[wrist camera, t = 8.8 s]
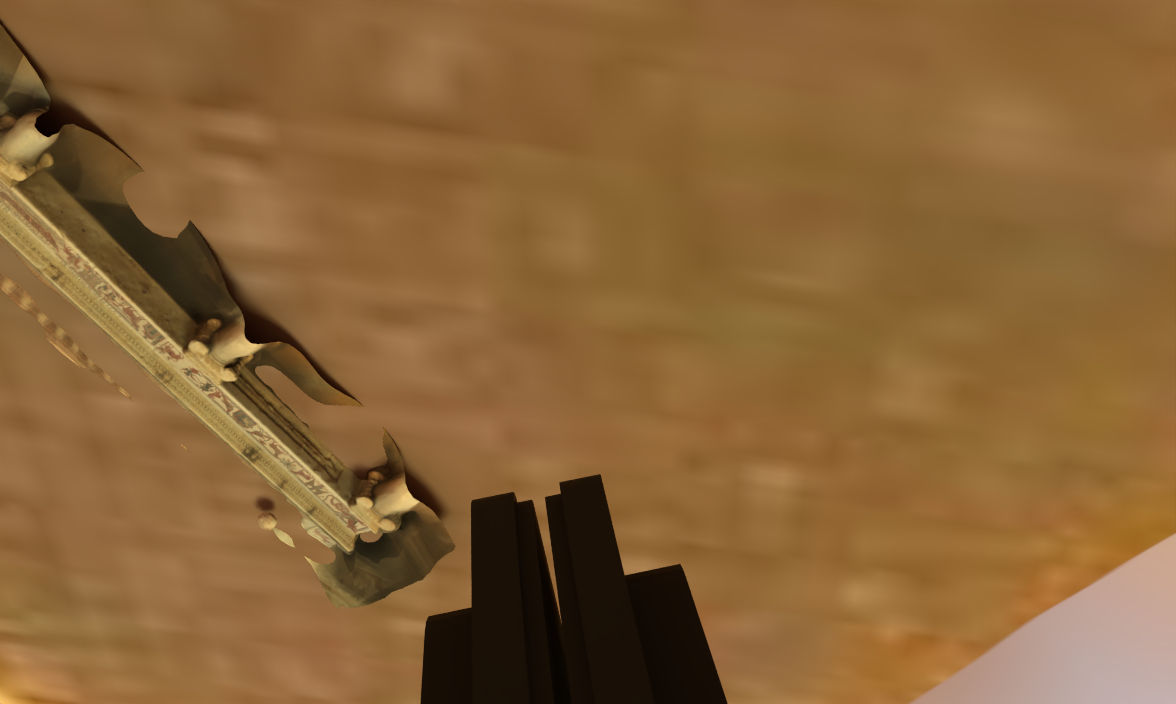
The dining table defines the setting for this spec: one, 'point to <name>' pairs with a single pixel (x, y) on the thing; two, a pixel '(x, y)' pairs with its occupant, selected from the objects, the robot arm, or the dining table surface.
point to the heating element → (193, 341)
